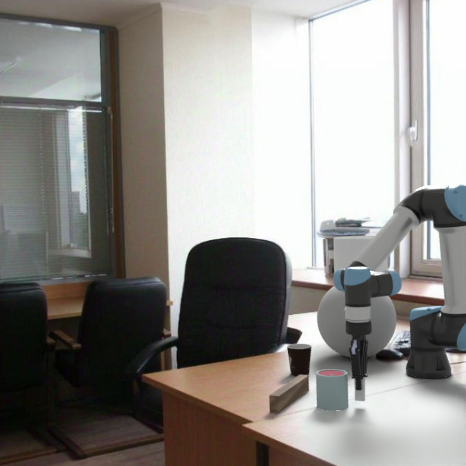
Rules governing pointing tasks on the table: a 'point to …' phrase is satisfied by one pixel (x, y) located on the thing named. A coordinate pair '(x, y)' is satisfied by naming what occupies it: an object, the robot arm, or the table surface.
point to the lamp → (351, 251)
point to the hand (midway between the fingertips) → (360, 400)
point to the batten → (288, 393)
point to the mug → (332, 389)
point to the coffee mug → (299, 359)
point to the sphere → (334, 320)
